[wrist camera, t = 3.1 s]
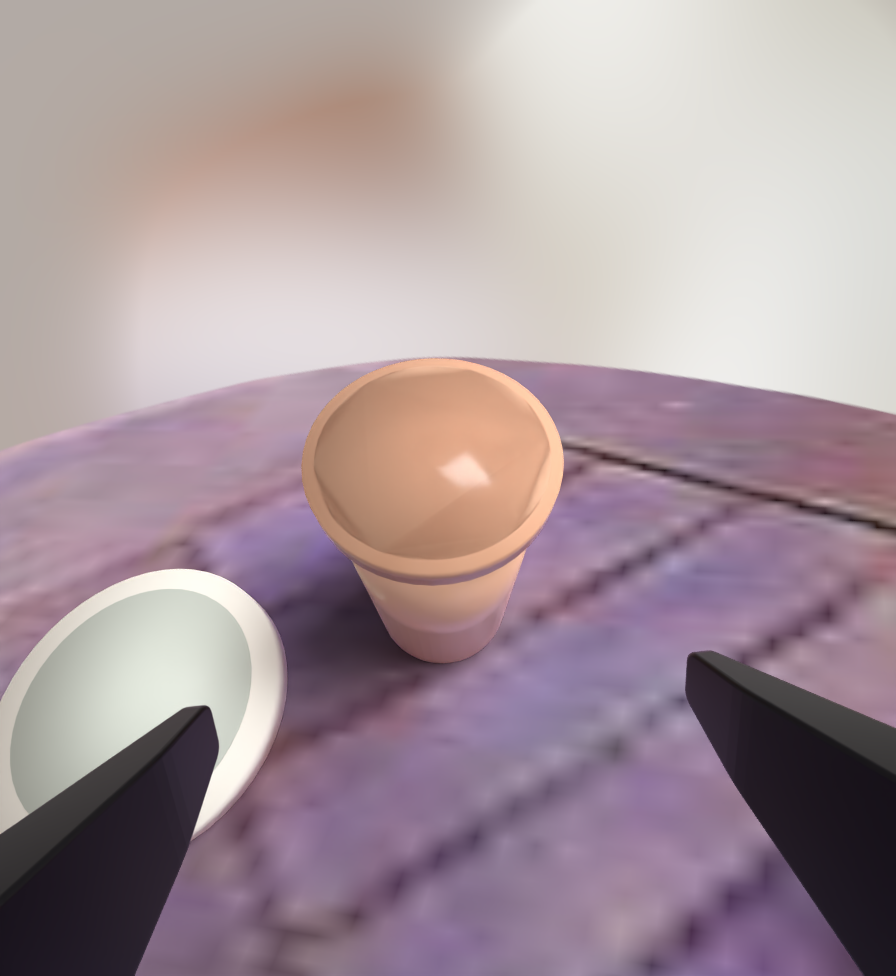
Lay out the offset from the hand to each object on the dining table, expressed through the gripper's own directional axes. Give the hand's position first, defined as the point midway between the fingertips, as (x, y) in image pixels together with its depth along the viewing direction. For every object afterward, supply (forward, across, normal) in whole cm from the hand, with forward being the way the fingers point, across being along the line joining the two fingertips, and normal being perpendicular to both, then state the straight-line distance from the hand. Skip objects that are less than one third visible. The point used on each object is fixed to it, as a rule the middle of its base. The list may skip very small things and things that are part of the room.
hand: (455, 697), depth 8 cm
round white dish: (+10, +12, +7) cm, 18 cm away
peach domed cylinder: (+13, 0, +4) cm, 13 cm away
